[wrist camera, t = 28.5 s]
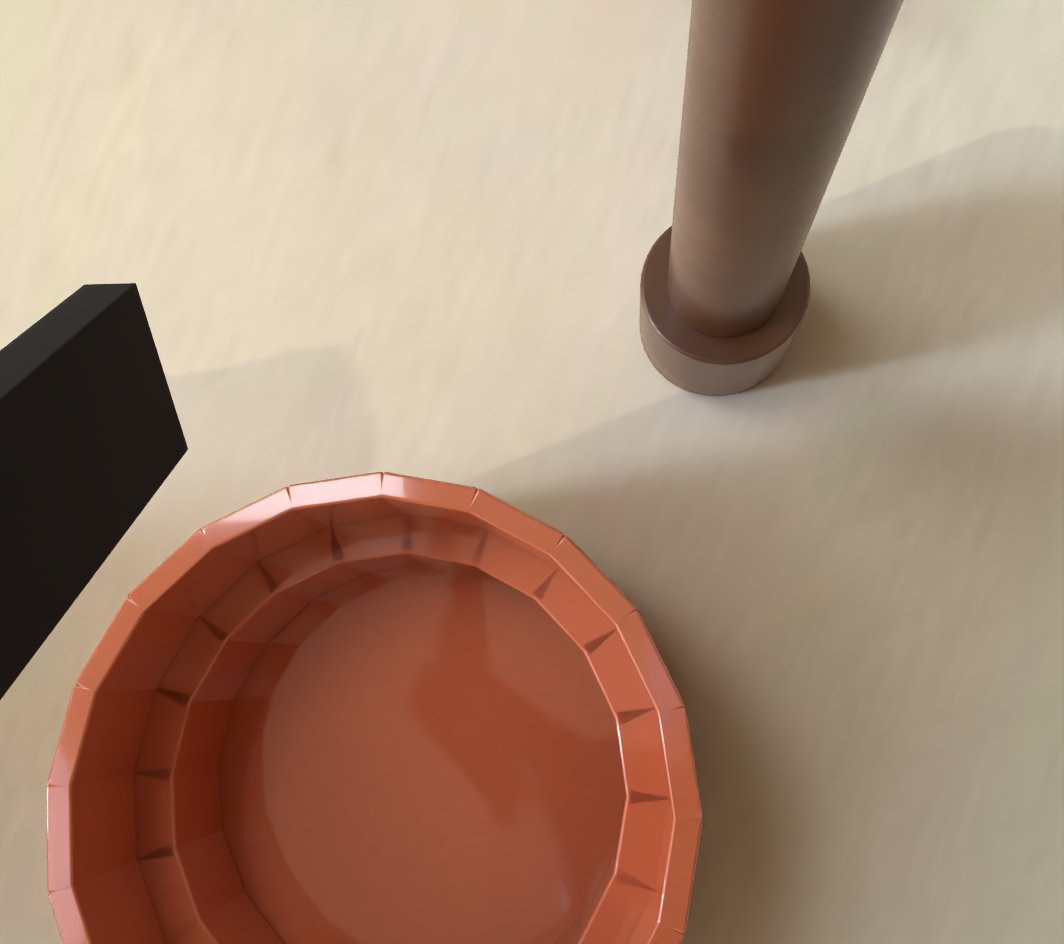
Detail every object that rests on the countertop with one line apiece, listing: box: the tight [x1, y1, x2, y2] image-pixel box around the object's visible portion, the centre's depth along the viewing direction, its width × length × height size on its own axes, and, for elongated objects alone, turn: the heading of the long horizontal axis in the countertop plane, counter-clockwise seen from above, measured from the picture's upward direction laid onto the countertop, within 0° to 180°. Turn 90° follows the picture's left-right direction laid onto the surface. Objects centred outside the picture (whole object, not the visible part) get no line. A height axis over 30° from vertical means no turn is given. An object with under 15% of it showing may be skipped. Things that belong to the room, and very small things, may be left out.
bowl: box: [47, 472, 703, 944], centre depth 23 cm, size 14×14×6 cm
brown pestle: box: [640, 0, 903, 396], centre depth 19 cm, size 4×4×16 cm
